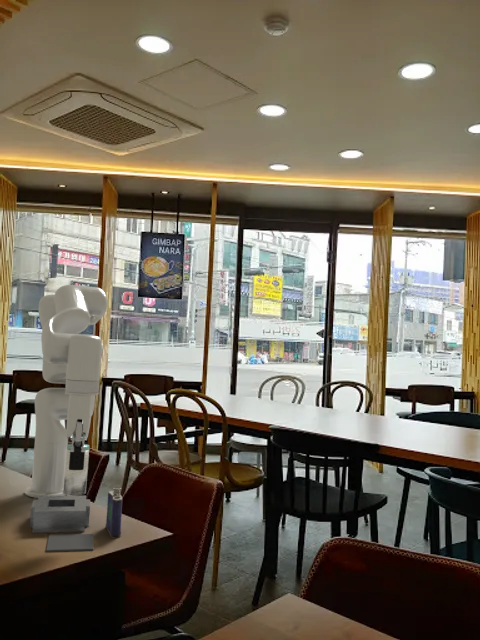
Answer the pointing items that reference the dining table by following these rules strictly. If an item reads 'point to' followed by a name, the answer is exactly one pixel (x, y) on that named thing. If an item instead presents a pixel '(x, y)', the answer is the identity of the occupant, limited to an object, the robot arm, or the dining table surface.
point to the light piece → (75, 475)
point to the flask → (114, 513)
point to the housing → (60, 514)
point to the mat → (70, 542)
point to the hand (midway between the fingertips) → (76, 466)
